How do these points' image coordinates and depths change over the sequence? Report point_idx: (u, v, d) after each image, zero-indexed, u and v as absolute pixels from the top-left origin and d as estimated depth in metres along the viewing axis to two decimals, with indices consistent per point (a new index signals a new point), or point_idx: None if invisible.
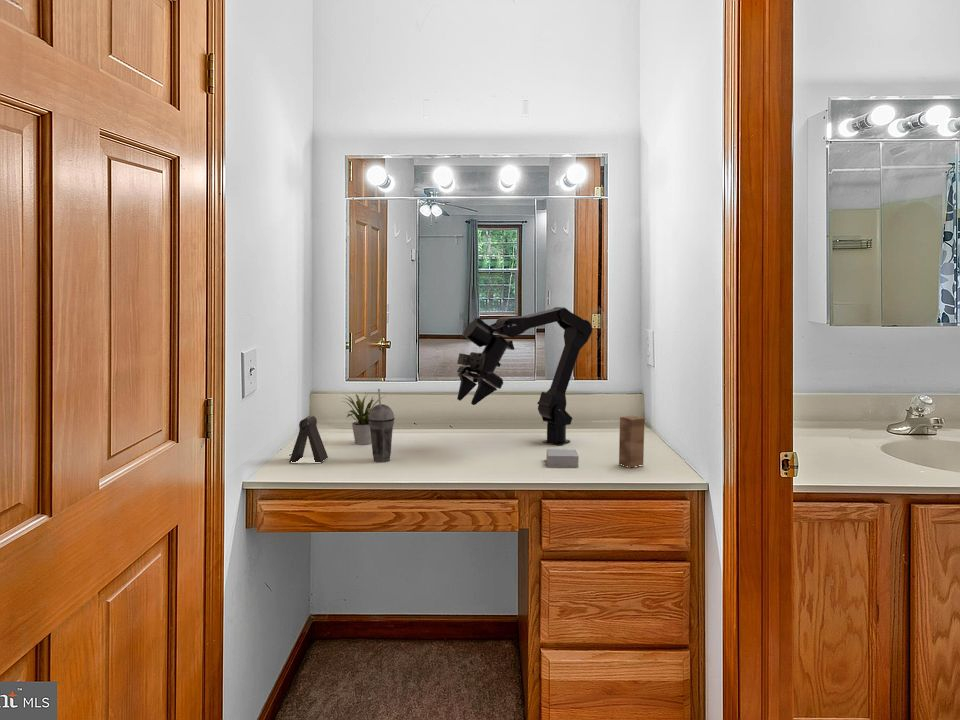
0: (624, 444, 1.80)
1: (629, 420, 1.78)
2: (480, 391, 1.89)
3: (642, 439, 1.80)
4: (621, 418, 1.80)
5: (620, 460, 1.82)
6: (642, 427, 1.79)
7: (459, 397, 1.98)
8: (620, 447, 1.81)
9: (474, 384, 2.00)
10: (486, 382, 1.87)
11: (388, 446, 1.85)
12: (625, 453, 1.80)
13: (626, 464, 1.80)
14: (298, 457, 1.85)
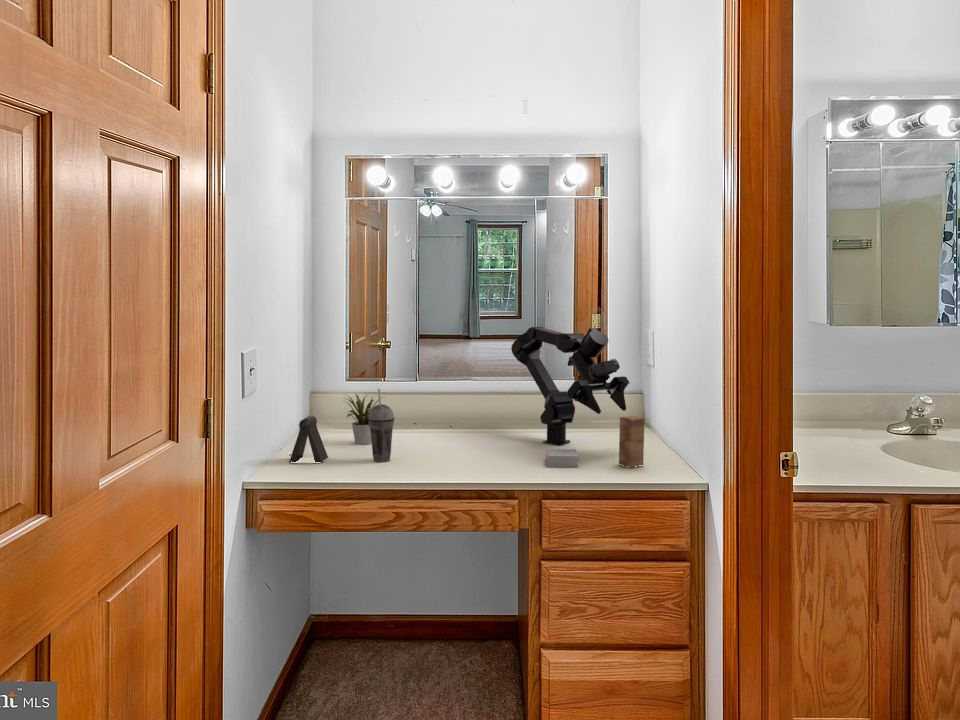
0: (624, 444, 1.80)
1: (629, 420, 1.78)
2: None
3: (642, 439, 1.80)
4: (621, 418, 1.80)
5: (620, 460, 1.82)
6: (642, 427, 1.79)
7: None
8: (620, 447, 1.81)
9: None
10: None
11: (388, 446, 1.85)
12: (624, 453, 1.80)
13: (626, 464, 1.80)
14: (298, 457, 1.85)
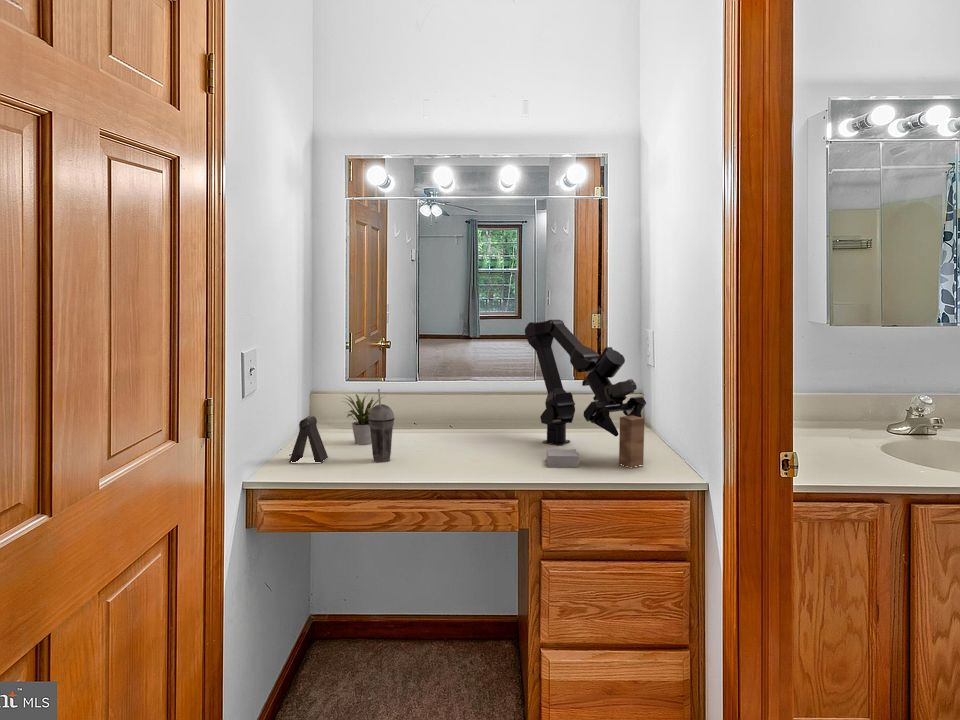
0: (624, 444, 1.80)
1: (629, 420, 1.78)
2: None
3: (642, 439, 1.80)
4: (621, 418, 1.80)
5: (620, 460, 1.82)
6: (642, 427, 1.79)
7: None
8: (620, 447, 1.81)
9: None
10: None
11: (388, 446, 1.85)
12: (624, 453, 1.80)
13: (626, 464, 1.80)
14: (298, 457, 1.85)
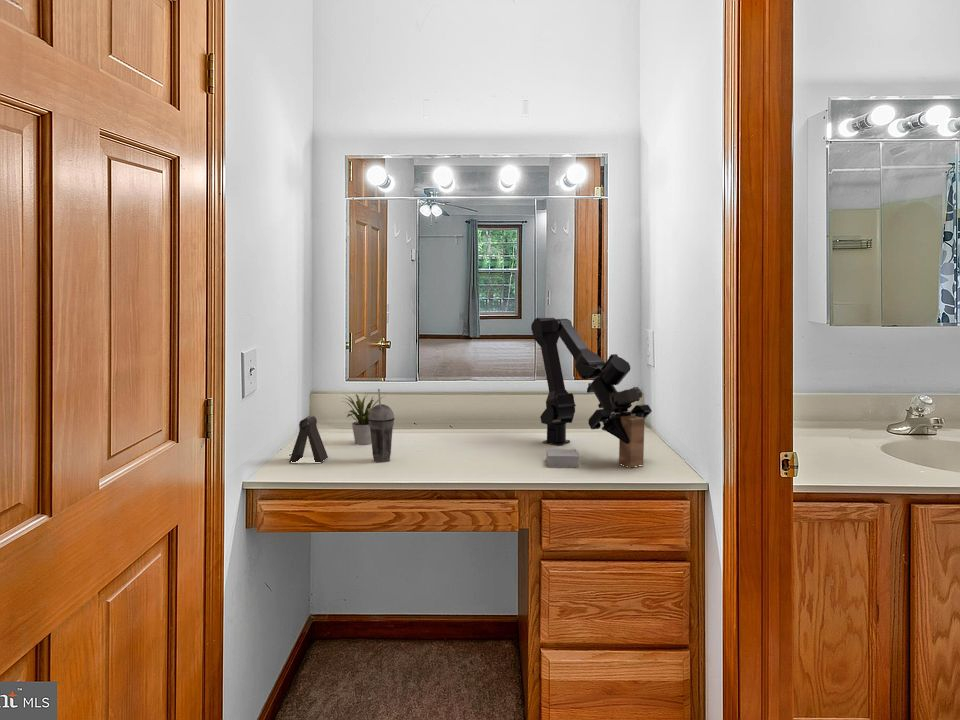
0: (624, 444, 1.80)
1: (629, 420, 1.78)
2: None
3: (642, 439, 1.80)
4: (621, 418, 1.80)
5: (620, 460, 1.82)
6: (642, 427, 1.79)
7: None
8: (620, 447, 1.81)
9: None
10: None
11: (388, 446, 1.85)
12: (625, 453, 1.80)
13: (626, 464, 1.80)
14: (298, 457, 1.85)
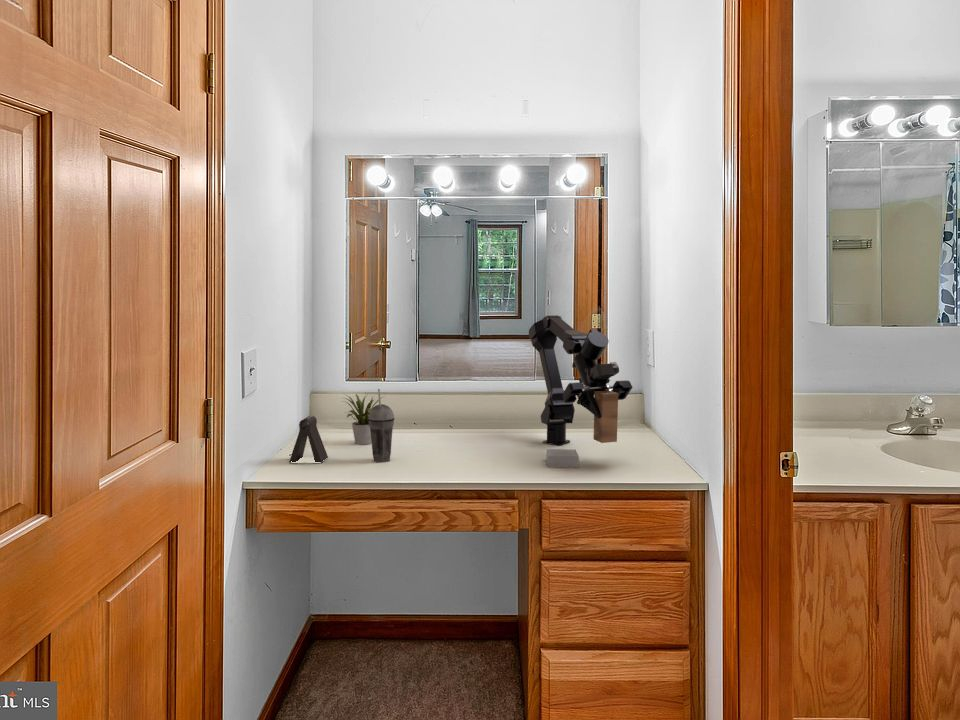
0: (597, 419, 1.79)
1: (601, 394, 1.77)
2: None
3: (615, 414, 1.78)
4: (595, 392, 1.80)
5: (594, 435, 1.81)
6: (615, 402, 1.78)
7: None
8: (594, 421, 1.81)
9: None
10: None
11: (388, 446, 1.85)
12: (597, 428, 1.79)
13: (598, 438, 1.79)
14: (298, 457, 1.85)
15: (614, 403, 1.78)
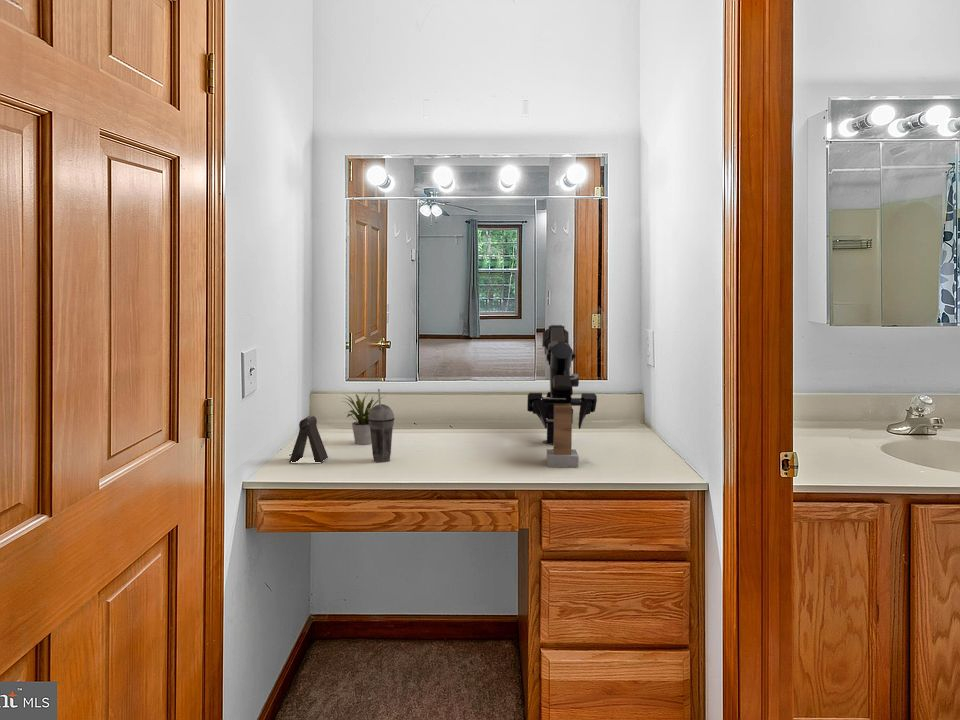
0: None
1: (554, 407, 1.81)
2: None
3: (569, 427, 1.80)
4: (554, 405, 1.84)
5: (553, 446, 1.85)
6: (569, 415, 1.80)
7: (546, 424, 1.82)
8: None
9: None
10: None
11: (388, 446, 1.85)
12: None
13: None
14: (298, 457, 1.85)
15: (568, 416, 1.80)
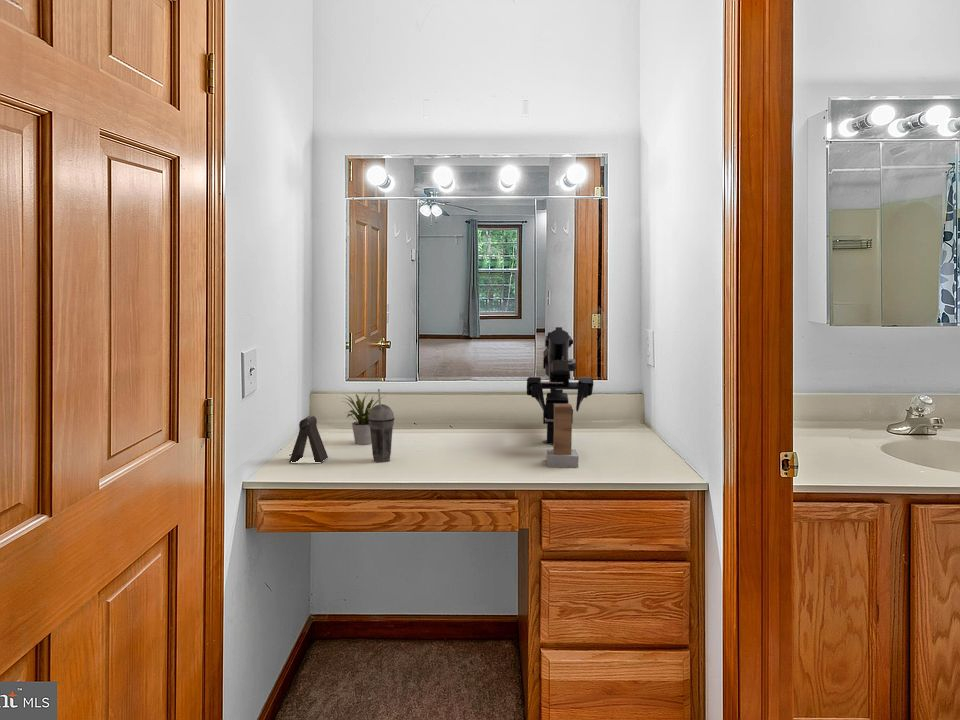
0: None
1: (554, 407, 1.81)
2: None
3: (569, 427, 1.80)
4: (554, 405, 1.84)
5: (553, 446, 1.85)
6: (569, 415, 1.80)
7: (544, 407, 1.89)
8: None
9: None
10: None
11: (388, 446, 1.85)
12: None
13: None
14: (298, 457, 1.85)
15: (568, 416, 1.80)
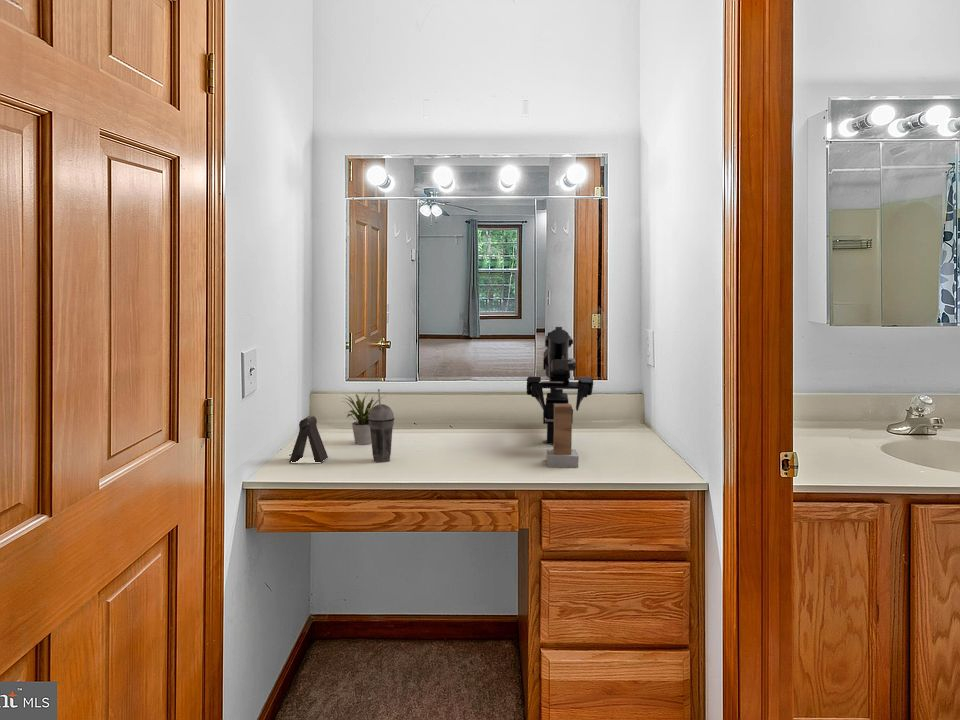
0: None
1: (554, 407, 1.81)
2: None
3: (569, 427, 1.80)
4: (554, 405, 1.84)
5: (553, 446, 1.85)
6: (569, 415, 1.80)
7: (544, 406, 1.89)
8: None
9: None
10: None
11: (388, 446, 1.85)
12: None
13: None
14: (298, 457, 1.85)
15: (568, 416, 1.80)
